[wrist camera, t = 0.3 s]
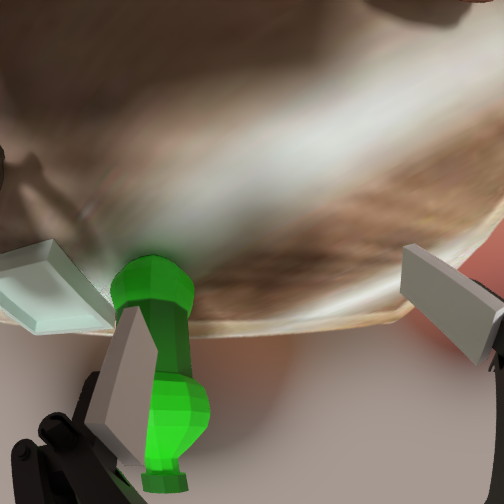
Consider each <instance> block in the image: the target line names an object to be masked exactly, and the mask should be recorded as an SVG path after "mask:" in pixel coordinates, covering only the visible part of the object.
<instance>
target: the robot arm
mask: <svg viewBox="0 0 504 504" xmlns="http://www.w3.org/2000/svg"><path fill="white" fill-rule="evenodd" d="M400 293H401V294H402V295H403V296H404V297H406V298H407V299H408V300H409V301H410V302H411V303H412V304H413V305H414V306H415V307H417V308H418V309H419V310H420V311H421V312H422V313H423V314H424V315H425V316H426V317H427V318H428V319H429V320H430V321H431V322H433V323H434V324H435V325H436V326H437V327H438V328H439V329H440V330H441V331H442V332H443V333H444V334H445V335H446V336H447V337H448V338H449V339H450V340H451V341H452V342H453V343H454V344H455V345H456V346H457V347H459V349H460V350H461V351H462V352H463V353H464V354H465V355H466V356H467V357H468V358H469V359H470V360H471V361H472V362H473V363H474V364H475V365H476V366H478V365H479V364H480V363H482V362H484V361H485V360H486V359H487V358H488V356H489V354H490V352H491V349H492V348H493V349H494V350H495V351H496V353H495V355H494V358H493V360H492V362H491V364H490V367H489V370H488V371H489V372H490V371H491V369H492V367H493V366H494V365H495V369H494V371H493V372H495V378H496V404H497V405H496V410H497V412H496V413H497V414H496V440H495V454H494V463H493V471H492V478H491V484H490V490H489V495H488V498H487V500H486V502H485V503H484V504H504V299H502V298H501V297H500V296H498V295H497V294H495V293H494V292H491V290H490V289H488V288H486V287H485V286H484V285H483V284H481V283H480V282H478V281H476V280H473V279H471V278H468V277H466V276H465V275H463V274H462V273H460V272H459V271H457V270H456V269H454V268H453V267H451V266H450V265H448V264H447V263H445V262H443V261H442V260H440V259H439V258H437V257H436V256H434V255H432V254H431V253H429V252H428V251H426V250H424V249H423V248H421V247H419V246H418V245H416V244H410V245H406V246H403V258H402V274H401V286H400ZM157 354H158V350H157V348H156V346H155V343H154V341H153V339H152V336H151V334H150V332H149V330H148V327H147V325H146V322H145V320H144V318H143V315H142V313H141V310H140V308H139V306H135V307H129V308H124V310H123V312H122V315H121V317H120V320H119V322H118V325H117V327H116V330H115V332H114V335H113V338H112V340H111V343H110V346H109V349H108V351H107V354H106V357H105V359H104V362H103V365H102V368H101V371H96V372H92V373H91V374H90V375H89V377H88V378H87V379H86V380H85V383H84V386H83V388H82V392H81V394H80V397H79V401H78V402H77V406H76V408H75V412H74V415H73V418H72V421H71V420H70V419H69V418H68V417H67V416H66V414H64V413H61V412H54V413H52V414H50V415H48V416H46V417H45V418H44V419H43V420H42V422H41V423H40V425H39V428H38V435H39V437H40V438H41V439H42V440H43V441H44V442H45V443H46V444H47V445H43V446H37V445H36V444H35V443H34V442H33V441H32V440H30V439H22V440H20V441H19V442H17V443H16V444H15V445H14V447H13V449H12V452H11V466H12V478H13V488H14V496H15V503H16V504H147V502H146V501H145V500H144V499H143V498H142V497H141V496H140V495H139V494H138V493H137V491H136V490H135V489H134V487H133V486H132V485H131V484H130V483H129V481H128V480H127V479H126V478H125V476H124V475H123V474H122V472H121V471H120V470H119V469H118V468H117V467H116V465H117V459H118V460H119V461H121V462H122V463H123V464H124V465H125V466H144V459H145V448H146V437H147V428H148V419H149V410H150V402H151V395H152V387H153V380H154V374H155V367H156V361H157Z"/></svg>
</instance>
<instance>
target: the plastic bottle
mask: <svg viewBox="0 0 504 504" xmlns="http://www.w3.org/2000/svg"><path fill="white" fill-rule="evenodd" d="M110 294H111V297H112V301H113V304H114V307H115V310H116V314H117V320H116V327H117V325H118V322H119V320H120V317H121V315H122V312H123V310H124V308H129V307H135V306H139V308H140V310H141V313H142V315H143V318H144V320H145V322H146V325H147V327H148V330H149V332H150V334H151V336H152V339H153V341H154V343H155V346H156V348H157V350H158V354H157V361H156V367H155V374H154V380H153V387H152V395H151V402H150V410H149V419H148V428H147V437H146V448H145V465H146V473H142V474H141V478H142V484H143V491H145V492H150V493H180V492H185V491H188V484H187V479H186V474H185V473H182V472H180V470H179V464H178V457H179V456H180V455H181V454H183V453H184V452H185V451H186V449H188V448H189V447H190V446H191V445H192V444H193V443H194V441H195V440H196V439H197V438H198V437H199V436H200V435H201V434H202V432H203V431H204V430H205V429H206V428H207V426H208V421H209V417H210V406H209V400H208V397H207V394H206V392H205V389H204V387H203V386H202V385H200V384H199V383H198V382H197V381H196V380H195V379H194V378H192V368H191V357H190V346H189V332H188V318H189V316H190V313H191V310H192V307H193V301H194V295H195V293H194V284H193V282H192V280H191V279H190V277H189V276H188V275H187V274H186V273H185V272H184V271H182V270H181V269H180V268H179V267H178V266H177V265H176V264H175V263H173V262H171V261H169V260H168V259H167V258H164V257H160V256H156V255H149V256H144V257H139V258H138V259H136V260H134V261H131V262H130V263H128V264H127V265H126V266H125V267H124V268H123V269H122V270H121V271H120V272H119V273H118V274H117V275H116V276H115V278H114V279H113V281H112V283H111V289H110Z"/></svg>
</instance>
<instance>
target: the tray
mask: <svg viewBox="0 0 504 504" xmlns="http://www.w3.org/2000/svg"><path fill="white" fill-rule="evenodd" d="M0 310H2V311H3V312H4V313H5V314H7V315H8V316H9V317H10V318H12V319H13V320H14V321H16V322H17V323H18V324H20V325H21V326H22V327H24V328H25V329H26V330H28V331H29V332H31V333H32V334H33V335H48V334H61V333H73V332H84V331H95V330H105V329H114V326H115V311H116V310H115V309H114V308H113V307H112V306H111V305H110V304H109V303H108V302H107V301H106V300H105V299H104V298H103V297H102V296H101V295H100V293H99V292H98V291H97V290H96V289H95V288H94V287H93V286H92V285H91V283H90V282H89V281H88V280H87V279H86V278H85V277H84V275H83V274H82V273H81V272H80V271H79V270H78V268H77V267H76V266H75V265H74V264H73V262H72V261H71V260H70V259H69V258H68V256H67V255H66V254H65V253H64V251H63V250H62V249H61V248H60V246H59V245H58V244H57V243H56V241H55V240H54V239H50V240H46V241H43V242H39V243H36V244H32V245H29V246H26V247H22V248H19V249H15V250H12V251H9V252H6V253H3V254H0Z"/></svg>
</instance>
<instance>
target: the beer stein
mask: <svg viewBox="0 0 504 504" xmlns="http://www.w3.org/2000/svg"><path fill="white" fill-rule="evenodd" d="M4 159H5V155H4V150H3V149H2V147H1V146H0V190H1V186H2V183H3V167H2V162H3V161H4Z"/></svg>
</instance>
